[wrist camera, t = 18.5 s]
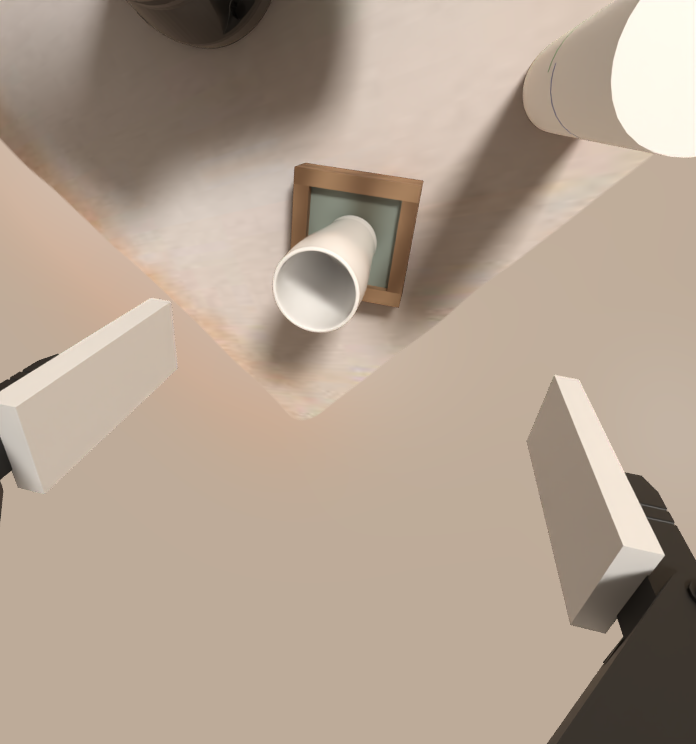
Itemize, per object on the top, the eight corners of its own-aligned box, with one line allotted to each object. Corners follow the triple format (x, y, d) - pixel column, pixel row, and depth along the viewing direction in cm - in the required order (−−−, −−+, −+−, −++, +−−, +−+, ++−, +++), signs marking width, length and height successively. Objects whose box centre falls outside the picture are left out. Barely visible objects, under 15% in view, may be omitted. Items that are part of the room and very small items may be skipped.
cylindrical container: (517, 136, 40) (593, 161, 19) (528, 38, 37) (636, -62, 16) (603, 131, 39) (788, 153, 18) (623, 29, 36) (882, -95, 14)
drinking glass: (306, 234, 46) (252, 282, 33) (356, 191, 43) (318, 225, 30) (347, 285, 48) (311, 349, 35) (398, 247, 45) (379, 302, 32)
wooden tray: (298, 276, 51) (288, 287, 48) (305, 162, 45) (294, 166, 42) (401, 295, 50) (398, 307, 47) (423, 180, 44) (421, 186, 41)
